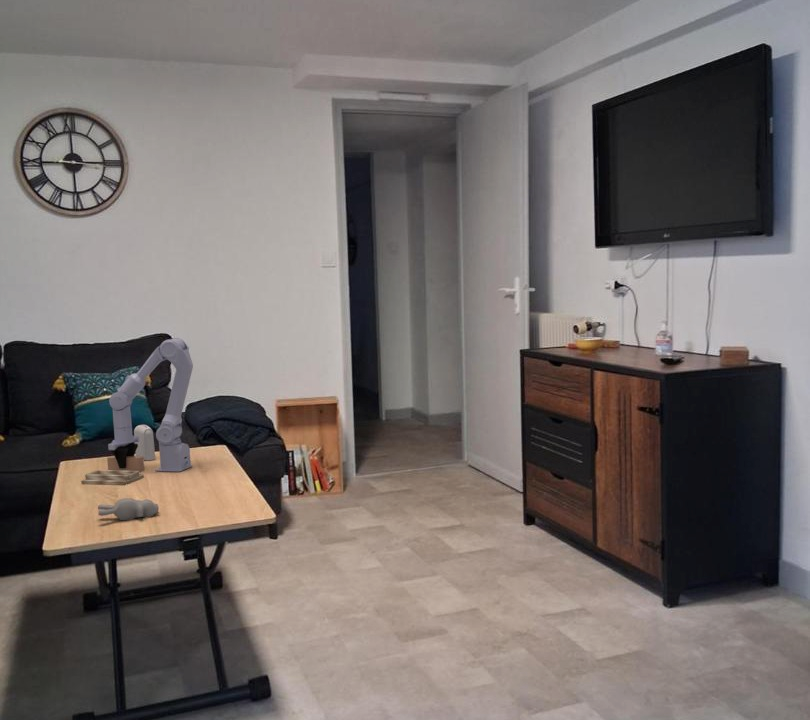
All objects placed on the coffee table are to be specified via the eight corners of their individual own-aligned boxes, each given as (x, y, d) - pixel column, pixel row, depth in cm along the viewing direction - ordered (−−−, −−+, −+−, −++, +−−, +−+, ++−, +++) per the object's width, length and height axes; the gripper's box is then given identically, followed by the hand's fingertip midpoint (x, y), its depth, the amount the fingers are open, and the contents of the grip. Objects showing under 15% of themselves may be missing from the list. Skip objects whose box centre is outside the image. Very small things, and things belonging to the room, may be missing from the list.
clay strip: (144, 470, 274) (143, 456, 274) (139, 473, 272) (138, 458, 271) (113, 470, 278) (112, 455, 277) (108, 472, 275) (107, 457, 274)
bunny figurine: (159, 503, 214) (99, 505, 209) (158, 522, 215) (98, 524, 209) (156, 495, 223) (98, 496, 217) (155, 514, 223) (97, 515, 218)
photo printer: (134, 457, 297) (131, 424, 296) (145, 455, 299) (143, 422, 298) (145, 461, 289) (142, 427, 288) (156, 459, 292) (154, 425, 290)
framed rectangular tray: (143, 477, 264) (143, 469, 263) (125, 485, 254) (124, 477, 254) (101, 476, 268) (100, 468, 268) (81, 483, 258) (80, 476, 258)
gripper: (125, 423, 281) (128, 461, 283) (99, 431, 267) (102, 471, 269) (143, 423, 279) (146, 462, 281) (117, 431, 265) (120, 472, 267)
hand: (125, 466), depth 274 cm, fingers open, 3 cm apart
